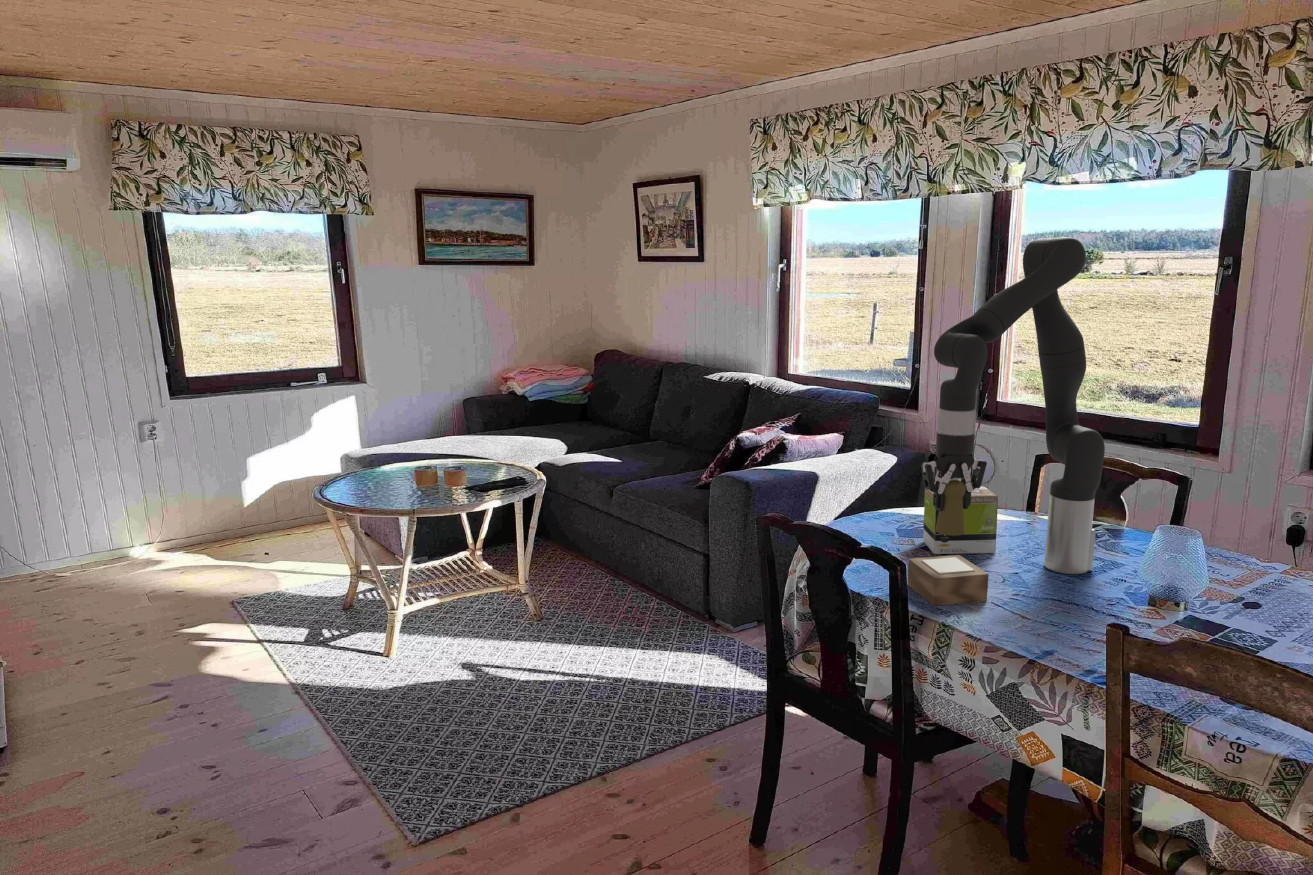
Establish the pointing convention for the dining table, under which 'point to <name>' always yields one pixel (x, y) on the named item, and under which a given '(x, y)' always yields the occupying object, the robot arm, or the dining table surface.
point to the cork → (952, 510)
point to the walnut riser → (947, 580)
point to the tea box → (976, 521)
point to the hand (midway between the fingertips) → (951, 508)
